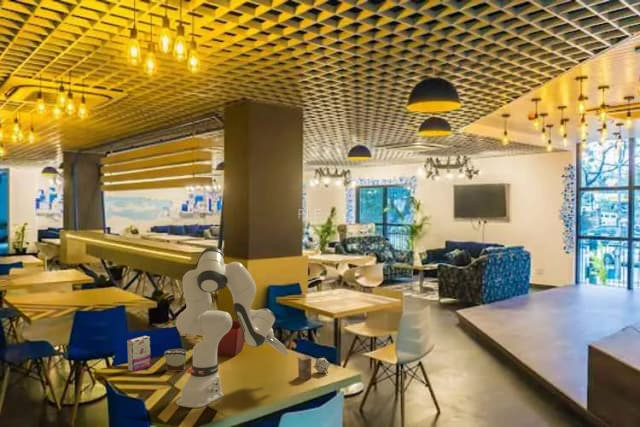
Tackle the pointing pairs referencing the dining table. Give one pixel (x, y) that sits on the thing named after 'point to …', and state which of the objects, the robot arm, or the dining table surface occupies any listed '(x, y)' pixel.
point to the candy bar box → (139, 353)
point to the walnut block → (304, 367)
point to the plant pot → (231, 341)
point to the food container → (175, 359)
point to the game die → (321, 365)
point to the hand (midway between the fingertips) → (283, 351)
